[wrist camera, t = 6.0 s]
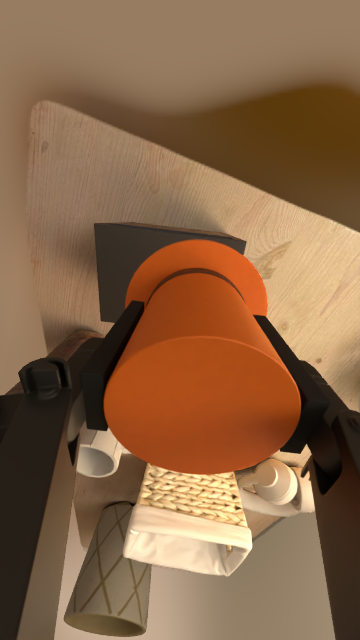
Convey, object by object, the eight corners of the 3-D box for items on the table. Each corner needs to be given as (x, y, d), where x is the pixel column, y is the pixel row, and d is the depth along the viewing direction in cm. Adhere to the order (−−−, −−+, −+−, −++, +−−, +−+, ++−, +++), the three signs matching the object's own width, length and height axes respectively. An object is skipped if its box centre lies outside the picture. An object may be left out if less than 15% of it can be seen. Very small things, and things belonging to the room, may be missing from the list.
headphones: (259, 445, 46) (219, 476, 57) (268, 488, 40) (220, 514, 51) (329, 468, 48) (277, 493, 59) (348, 512, 42) (285, 531, 53)
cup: (128, 379, 41) (105, 436, 30) (151, 409, 44) (137, 470, 33) (86, 394, 43) (51, 452, 33) (111, 422, 47) (86, 483, 36)
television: (128, 291, 33) (100, 321, 23) (127, 221, 29) (93, 221, 19) (215, 301, 33) (224, 336, 23) (228, 233, 29) (247, 239, 19)
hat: (127, 359, 17) (71, 483, 9) (126, 230, 13) (16, 249, 5) (245, 372, 17) (293, 508, 9) (284, 248, 13) (443, 299, 5)
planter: (171, 518, 65) (163, 632, 47) (132, 533, 71) (112, 639, 53) (124, 491, 59) (94, 609, 41) (87, 511, 66) (47, 620, 48)
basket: (137, 482, 57) (120, 562, 44) (144, 446, 50) (127, 528, 37) (221, 497, 58) (230, 579, 44) (240, 463, 51) (257, 549, 37)
